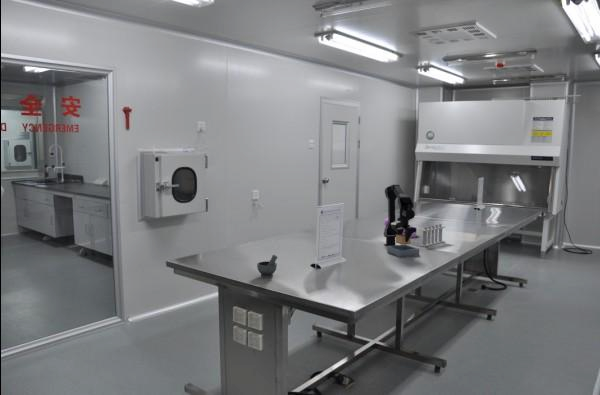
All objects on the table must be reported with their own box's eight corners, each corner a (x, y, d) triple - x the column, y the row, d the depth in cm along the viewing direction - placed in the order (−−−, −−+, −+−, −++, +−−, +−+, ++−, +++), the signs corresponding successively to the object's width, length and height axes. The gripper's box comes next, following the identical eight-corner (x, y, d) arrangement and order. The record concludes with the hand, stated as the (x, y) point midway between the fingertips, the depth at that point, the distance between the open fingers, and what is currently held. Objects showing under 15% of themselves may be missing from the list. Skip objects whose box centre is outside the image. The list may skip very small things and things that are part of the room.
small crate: (395, 242, 290) (396, 234, 289) (404, 241, 292) (404, 234, 292) (401, 244, 284) (402, 236, 283) (410, 243, 286) (410, 236, 286)
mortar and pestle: (253, 277, 235) (253, 254, 233) (265, 273, 242) (265, 250, 241) (270, 281, 228) (270, 257, 227) (282, 276, 236) (282, 253, 235)
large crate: (387, 252, 293) (387, 246, 292) (405, 250, 298) (405, 244, 297) (400, 257, 280) (400, 250, 279) (419, 255, 285) (419, 249, 285)
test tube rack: (424, 247, 309) (425, 227, 308) (419, 246, 313) (419, 226, 311) (445, 242, 326) (445, 223, 324) (439, 241, 329) (440, 222, 328)
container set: (418, 235, 352) (419, 217, 351) (412, 238, 339) (412, 220, 338) (387, 231, 365) (388, 215, 364) (380, 234, 353) (380, 217, 351)
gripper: (384, 215, 292) (384, 239, 293) (402, 219, 275) (401, 245, 276) (399, 214, 296) (398, 238, 298) (417, 218, 279) (416, 244, 281)
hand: (403, 241), depth 288 cm, fingers closed on small crate, 6 cm apart
